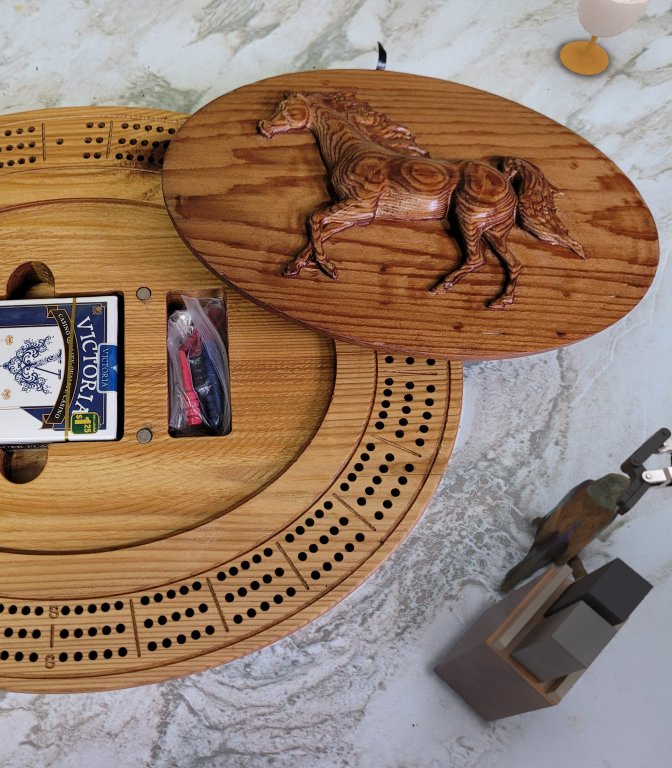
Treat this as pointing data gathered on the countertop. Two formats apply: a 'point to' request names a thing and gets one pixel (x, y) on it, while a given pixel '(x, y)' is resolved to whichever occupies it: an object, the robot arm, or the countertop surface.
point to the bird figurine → (570, 528)
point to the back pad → (606, 592)
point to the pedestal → (490, 667)
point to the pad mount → (551, 637)
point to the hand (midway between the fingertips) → (659, 541)
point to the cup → (600, 32)
